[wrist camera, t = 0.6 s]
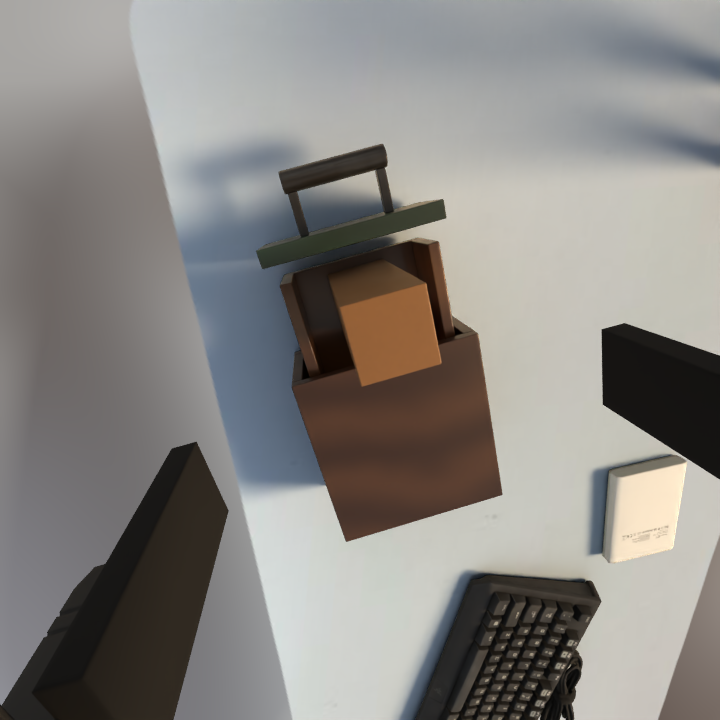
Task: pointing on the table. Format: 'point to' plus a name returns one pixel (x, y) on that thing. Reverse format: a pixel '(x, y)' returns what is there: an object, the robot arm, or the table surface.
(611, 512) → the hard drive
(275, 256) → the drawer
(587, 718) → the table surface
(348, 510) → the cabinet
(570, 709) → the keyboard
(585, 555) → the table surface
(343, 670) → the table surface
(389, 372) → the block
